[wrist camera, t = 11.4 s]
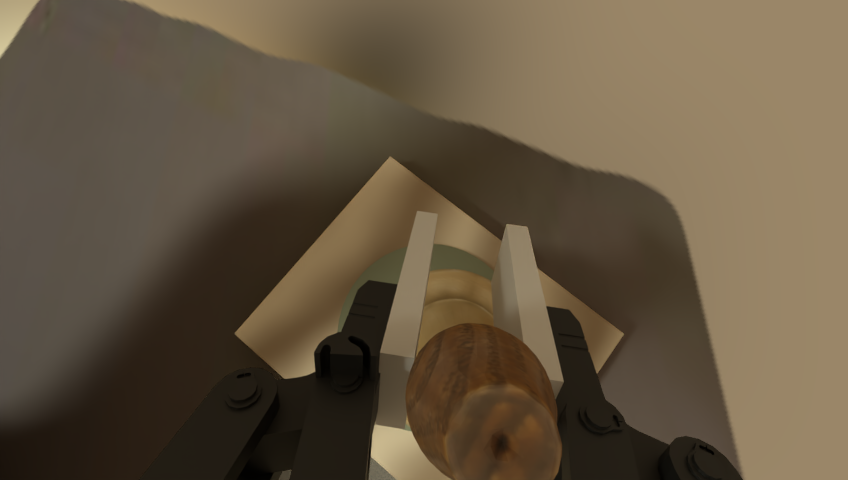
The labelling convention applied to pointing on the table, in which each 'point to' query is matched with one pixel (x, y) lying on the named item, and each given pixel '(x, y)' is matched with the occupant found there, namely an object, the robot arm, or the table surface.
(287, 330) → the bell board
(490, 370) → the hand bell
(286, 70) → the table surface
